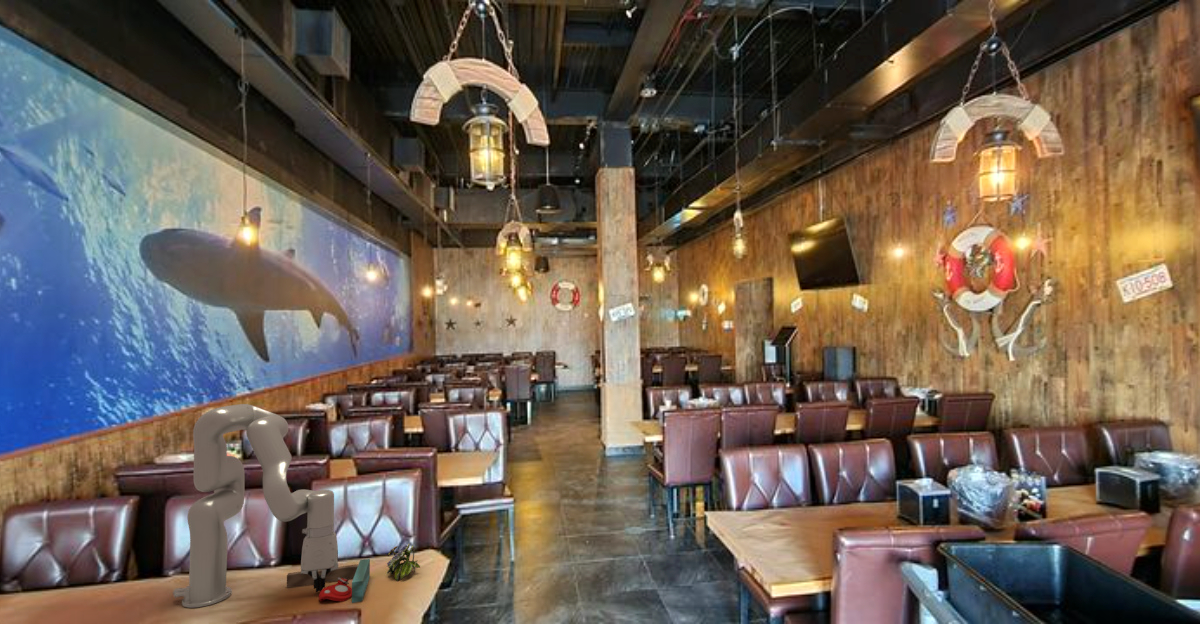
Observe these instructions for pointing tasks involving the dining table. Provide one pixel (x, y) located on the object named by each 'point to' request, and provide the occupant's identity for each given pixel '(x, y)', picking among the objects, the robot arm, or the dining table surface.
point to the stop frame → (355, 572)
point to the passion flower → (405, 566)
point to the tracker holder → (336, 591)
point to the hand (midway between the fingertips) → (319, 590)
